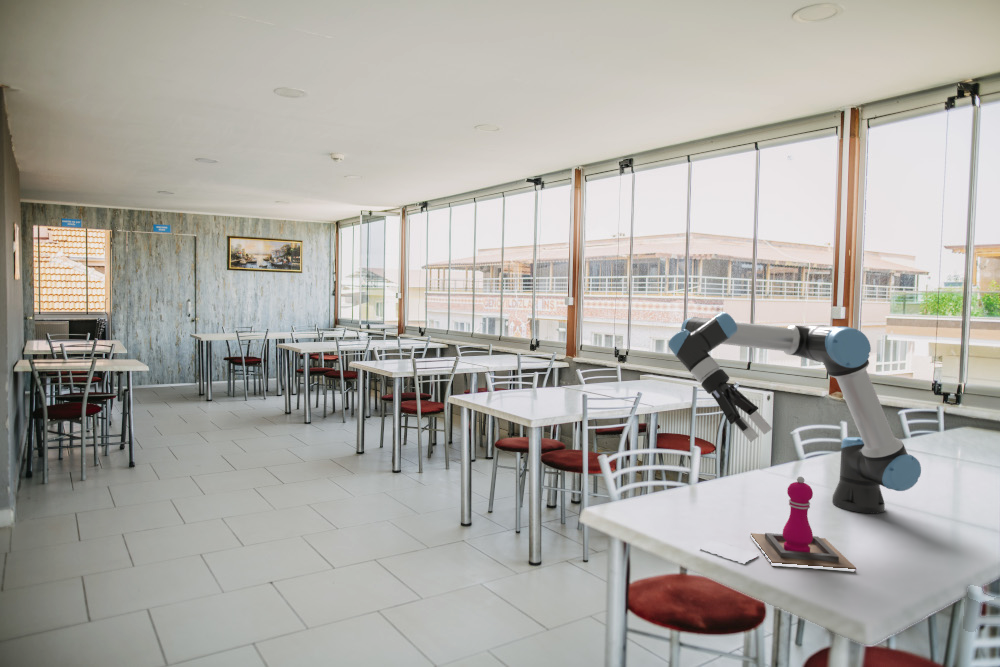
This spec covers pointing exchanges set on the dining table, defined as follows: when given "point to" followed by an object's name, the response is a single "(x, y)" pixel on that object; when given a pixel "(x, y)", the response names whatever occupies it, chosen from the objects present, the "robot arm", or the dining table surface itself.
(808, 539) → the pepper mill
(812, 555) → the pocket board
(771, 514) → the dining table surface
